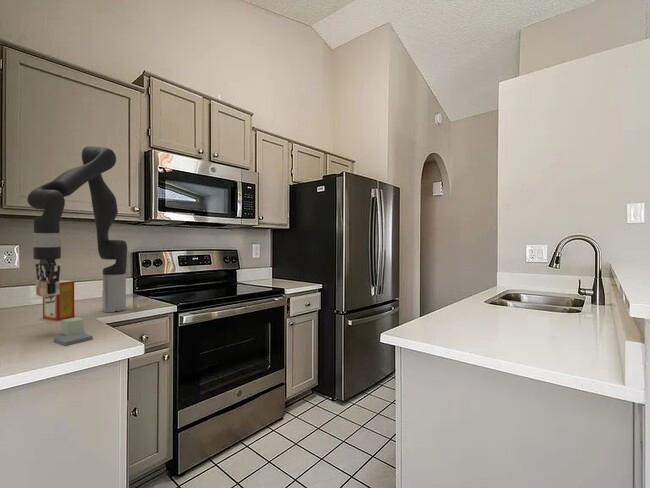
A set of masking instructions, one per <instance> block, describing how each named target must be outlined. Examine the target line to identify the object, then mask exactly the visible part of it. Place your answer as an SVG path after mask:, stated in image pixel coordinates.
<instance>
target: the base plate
mask: <svg viewBox="0 0 650 488" xmlns="http://www.w3.org/2000/svg"><path fill="white" fill-rule="evenodd" d="M91 340H94V339H93V335H91V334H87V333H85V332H83V333H82V332H79V333H75V334H70V335H61V336H57V337H54V338H53V342H54V343H57V344H59V345H61V346H64V347H66V346H70V345H74V344H79V343H82V342H87V341H91Z"/></svg>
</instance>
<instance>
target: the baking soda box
mask: <svg viewBox="0 0 650 488" xmlns="http://www.w3.org/2000/svg"><path fill="white" fill-rule="evenodd" d="M59 290H60V294H59V295H52V296H44V297H42V319H43V320H49V321H57V322H59V321H61V320H64V319H70V318H75V281H74V280H66V279H59Z"/></svg>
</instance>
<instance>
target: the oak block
mask: <svg viewBox="0 0 650 488" xmlns="http://www.w3.org/2000/svg"><path fill="white" fill-rule="evenodd" d="M35 285H36V286H35V290H36V291H35V293H36V294H35V296H39V297H42V298H43V297H44V296H52V295H59V294H60V290H59V281H58V282H57V283H56V293H54V294H48V293H47V280H43V281H39V280H36V281H35Z"/></svg>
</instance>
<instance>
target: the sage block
mask: <svg viewBox="0 0 650 488" xmlns="http://www.w3.org/2000/svg"><path fill="white" fill-rule="evenodd" d="M60 321H61V323H60V324H61V326H60V327H61V330H60V331H61V334H62V335H63V336H65V335H70V334H75V333H79V332H82V333H85V318H81V317H78V316H76V317H75V316H74V317H73V318H68V319H64V320H60Z"/></svg>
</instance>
